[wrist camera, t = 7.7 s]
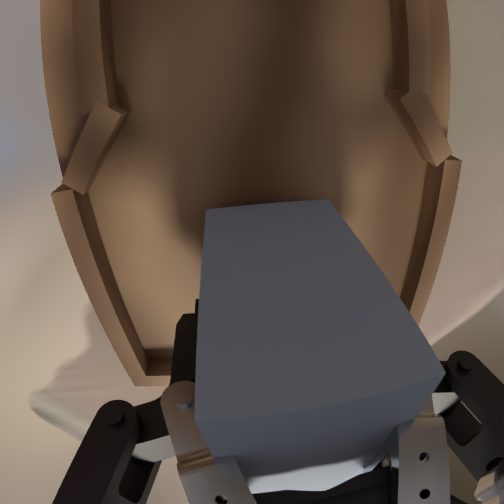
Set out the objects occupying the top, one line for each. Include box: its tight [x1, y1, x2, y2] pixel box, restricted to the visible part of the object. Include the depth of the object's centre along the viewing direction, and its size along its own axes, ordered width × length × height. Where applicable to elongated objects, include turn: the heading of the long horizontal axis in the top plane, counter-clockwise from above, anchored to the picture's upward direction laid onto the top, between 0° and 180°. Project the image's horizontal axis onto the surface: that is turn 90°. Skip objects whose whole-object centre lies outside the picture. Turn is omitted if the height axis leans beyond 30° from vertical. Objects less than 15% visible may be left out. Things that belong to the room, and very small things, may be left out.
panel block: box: [195, 199, 446, 494], centre depth 10 cm, size 4×7×8 cm, turn 3°
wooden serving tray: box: [40, 0, 462, 386], centre depth 12 cm, size 16×20×2 cm
